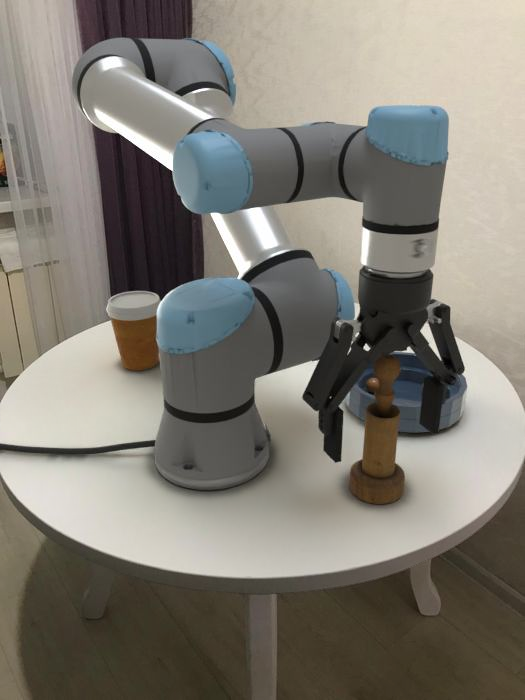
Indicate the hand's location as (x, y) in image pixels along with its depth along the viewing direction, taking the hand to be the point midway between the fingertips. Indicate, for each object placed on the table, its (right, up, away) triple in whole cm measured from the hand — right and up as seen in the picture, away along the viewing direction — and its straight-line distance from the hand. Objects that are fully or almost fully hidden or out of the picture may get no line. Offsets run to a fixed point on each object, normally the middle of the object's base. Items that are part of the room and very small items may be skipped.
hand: (382, 441), depth 69 cm
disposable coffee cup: (-36, +8, +35) cm, 51 cm away
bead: (+3, +5, +23) cm, 24 cm away
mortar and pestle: (0, -6, +3) cm, 7 cm away
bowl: (+7, +2, +21) cm, 22 cm away
